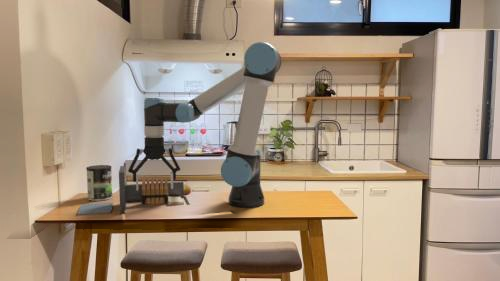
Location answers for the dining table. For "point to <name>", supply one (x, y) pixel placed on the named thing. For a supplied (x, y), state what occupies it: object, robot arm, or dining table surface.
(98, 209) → the mat
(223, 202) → the dining table surface
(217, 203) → the dining table surface
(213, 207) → the dining table surface
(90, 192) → the coffee can
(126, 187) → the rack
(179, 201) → the offcut upper
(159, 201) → the ammunition clip
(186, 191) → the fruit
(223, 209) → the dining table surface
